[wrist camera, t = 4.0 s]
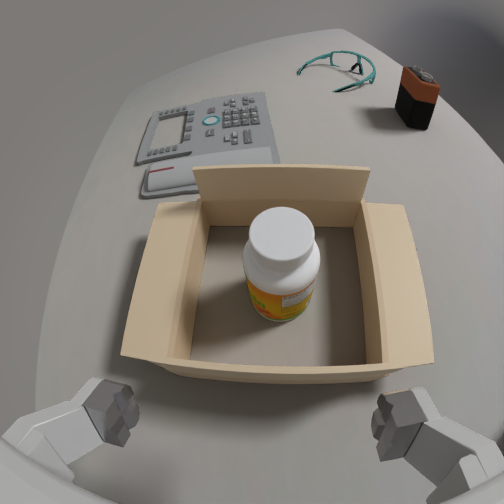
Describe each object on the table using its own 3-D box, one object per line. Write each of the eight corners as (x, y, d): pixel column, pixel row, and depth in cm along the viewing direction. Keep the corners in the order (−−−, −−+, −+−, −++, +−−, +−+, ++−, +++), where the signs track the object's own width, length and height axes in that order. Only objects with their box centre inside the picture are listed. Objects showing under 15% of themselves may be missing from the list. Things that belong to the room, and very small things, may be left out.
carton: (412, 376, 20) (463, 357, 13) (141, 369, 22) (90, 348, 15) (390, 225, 28) (414, 172, 21) (172, 222, 30) (146, 170, 24)
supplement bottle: (241, 282, 26) (223, 217, 18) (292, 259, 27) (297, 187, 18) (266, 333, 23) (260, 287, 15) (321, 306, 24) (343, 247, 16)
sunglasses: (384, 84, 47) (386, 65, 42) (340, 104, 44) (341, 81, 40) (337, 62, 53) (336, 45, 49) (290, 79, 51) (288, 60, 47)
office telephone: (286, 172, 30) (119, 196, 31) (285, 188, 33) (127, 210, 33) (263, 85, 42) (152, 103, 43) (264, 97, 44) (156, 114, 45)
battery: (406, 127, 37) (420, 76, 29) (393, 107, 41) (403, 60, 32) (428, 131, 37) (443, 82, 28) (413, 110, 40) (424, 65, 32)
